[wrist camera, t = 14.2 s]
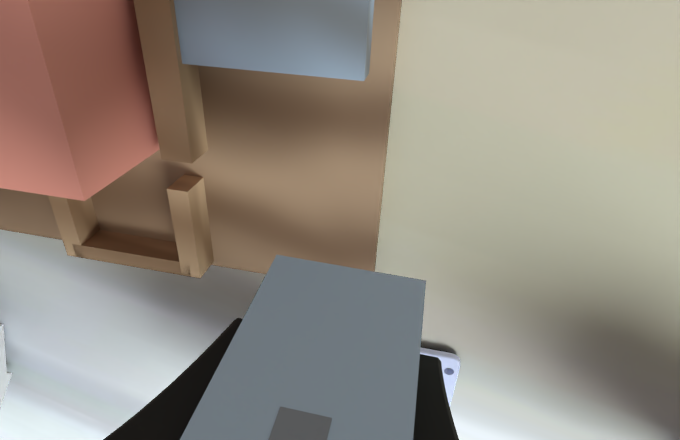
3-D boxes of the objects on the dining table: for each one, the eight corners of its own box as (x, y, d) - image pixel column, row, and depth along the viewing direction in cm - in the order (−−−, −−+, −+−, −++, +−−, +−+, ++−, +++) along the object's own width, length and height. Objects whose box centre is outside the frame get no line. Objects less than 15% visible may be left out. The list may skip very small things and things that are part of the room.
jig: (373, 284, 23) (366, 312, 21) (-31, 217, 27) (-65, 236, 25) (429, -278, 13) (425, -315, 11) (-242, -259, 16) (-326, -284, 15)
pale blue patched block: (405, 378, 14) (382, 597, 10) (280, 353, 15) (203, 547, 10) (426, 280, 12) (408, 506, 7) (276, 253, 12) (174, 449, 8)
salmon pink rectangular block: (167, 144, 21) (85, 201, 16) (87, 134, 21) (-13, 186, 17) (108, -211, 14) (-53, -286, 10) (-1, -211, 15) (-201, -280, 10)
